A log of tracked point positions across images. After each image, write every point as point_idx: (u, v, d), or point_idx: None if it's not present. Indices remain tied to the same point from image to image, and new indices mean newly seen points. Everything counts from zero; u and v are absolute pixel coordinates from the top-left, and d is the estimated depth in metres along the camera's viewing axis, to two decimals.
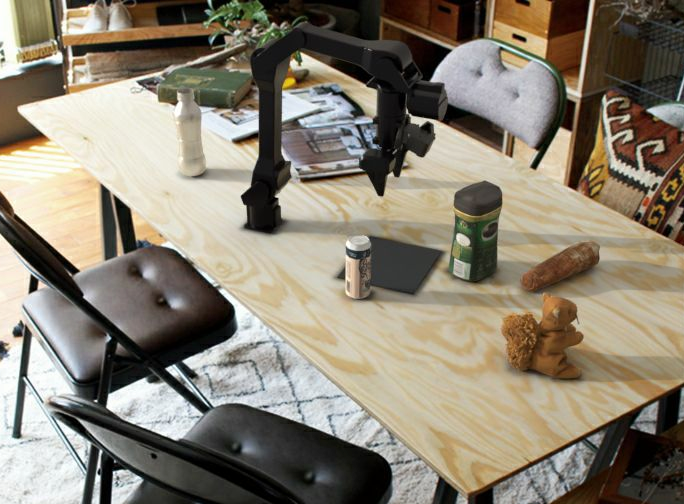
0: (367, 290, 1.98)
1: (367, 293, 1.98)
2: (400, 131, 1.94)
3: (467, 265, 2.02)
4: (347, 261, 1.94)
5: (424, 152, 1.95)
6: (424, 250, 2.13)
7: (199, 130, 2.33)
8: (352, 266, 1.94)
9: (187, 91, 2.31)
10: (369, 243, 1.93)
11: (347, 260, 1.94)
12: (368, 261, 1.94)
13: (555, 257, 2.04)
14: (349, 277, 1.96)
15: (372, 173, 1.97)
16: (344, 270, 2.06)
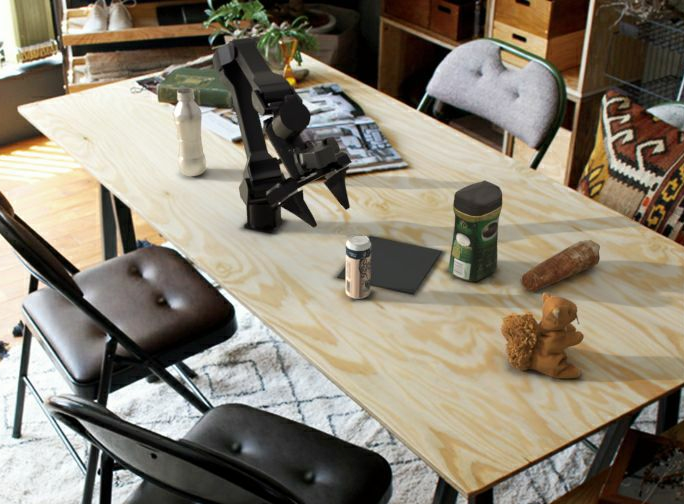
0: (367, 290, 1.98)
1: (367, 293, 1.98)
2: (295, 155, 1.91)
3: (467, 265, 2.02)
4: (347, 261, 1.94)
5: (320, 161, 1.88)
6: (424, 250, 2.13)
7: (199, 130, 2.33)
8: (352, 266, 1.94)
9: (187, 91, 2.31)
10: (369, 243, 1.93)
11: (347, 260, 1.94)
12: (368, 261, 1.94)
13: (555, 257, 2.04)
14: (349, 277, 1.96)
15: (291, 207, 1.93)
16: (344, 270, 2.06)
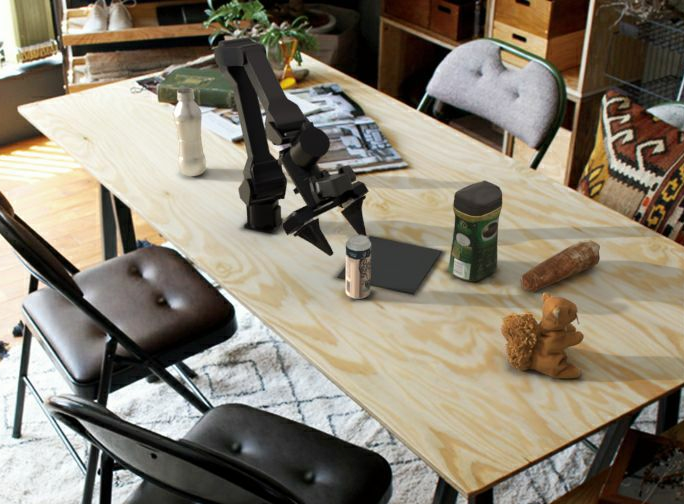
0: (367, 290, 1.98)
1: (367, 293, 1.98)
2: (311, 184, 1.91)
3: (467, 265, 2.02)
4: (347, 261, 1.94)
5: (336, 189, 1.88)
6: (424, 250, 2.13)
7: (199, 130, 2.33)
8: (352, 266, 1.94)
9: (187, 91, 2.31)
10: (369, 243, 1.93)
11: (347, 260, 1.94)
12: (368, 261, 1.94)
13: (555, 257, 2.04)
14: (349, 277, 1.96)
15: (307, 236, 1.92)
16: (344, 270, 2.06)
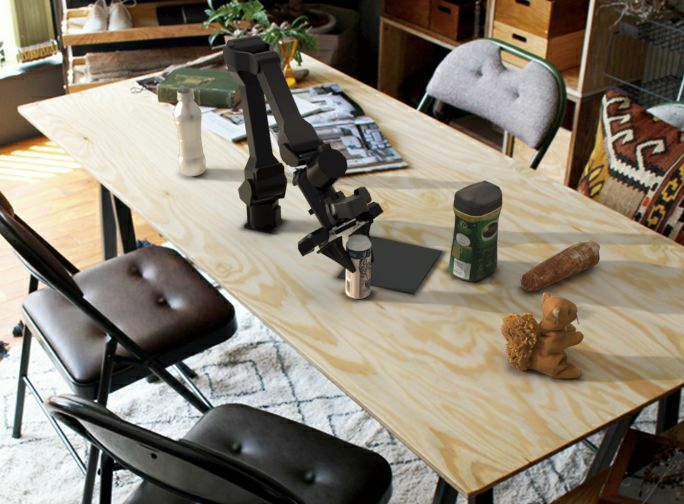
0: (367, 290, 1.98)
1: (367, 293, 1.98)
2: (326, 206, 1.91)
3: (467, 265, 2.02)
4: None
5: (352, 211, 1.87)
6: (424, 250, 2.13)
7: (199, 130, 2.33)
8: None
9: (187, 91, 2.31)
10: (369, 243, 1.93)
11: None
12: (368, 261, 1.94)
13: (555, 257, 2.04)
14: (349, 277, 1.96)
15: (330, 253, 1.93)
16: (344, 270, 2.06)
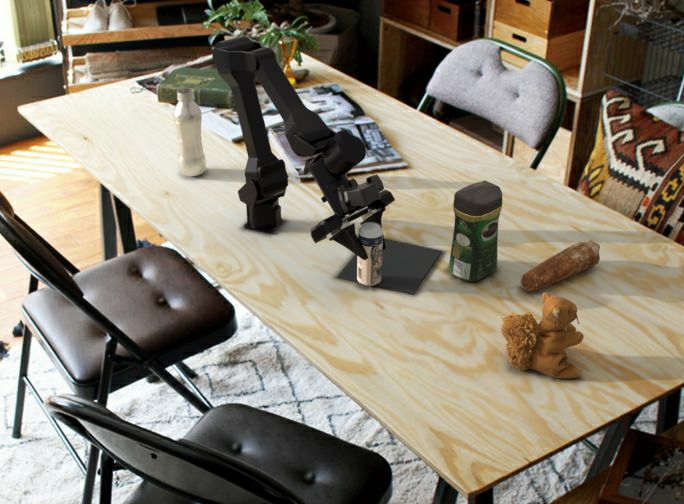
0: (378, 277, 2.01)
1: (378, 280, 2.01)
2: (339, 193, 1.94)
3: (467, 265, 2.02)
4: None
5: (364, 199, 1.90)
6: (424, 250, 2.13)
7: (199, 130, 2.33)
8: None
9: (187, 91, 2.31)
10: (381, 231, 1.96)
11: None
12: (380, 248, 1.97)
13: (555, 257, 2.04)
14: (361, 264, 1.99)
15: (343, 240, 1.96)
16: (344, 270, 2.06)
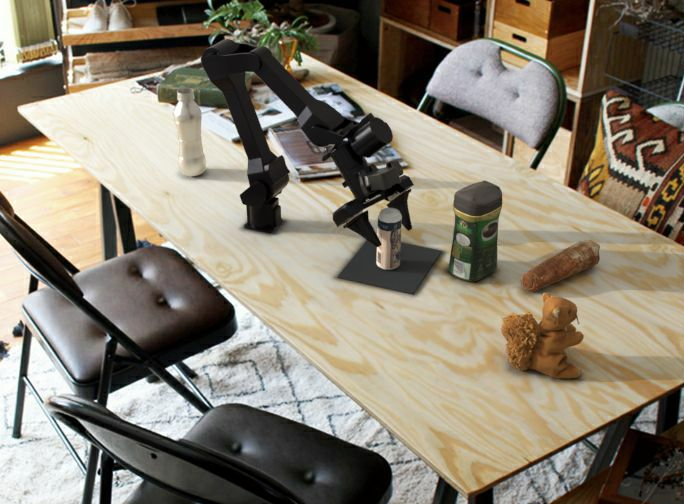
0: (397, 261, 2.06)
1: (397, 264, 2.06)
2: (360, 178, 1.99)
3: (467, 265, 2.02)
4: (379, 233, 2.03)
5: (385, 183, 1.95)
6: (424, 250, 2.13)
7: (199, 130, 2.33)
8: (383, 237, 2.02)
9: (187, 91, 2.31)
10: (400, 215, 2.01)
11: (379, 232, 2.02)
12: (399, 233, 2.02)
13: (555, 257, 2.04)
14: (380, 249, 2.04)
15: (356, 227, 2.00)
16: (344, 270, 2.06)
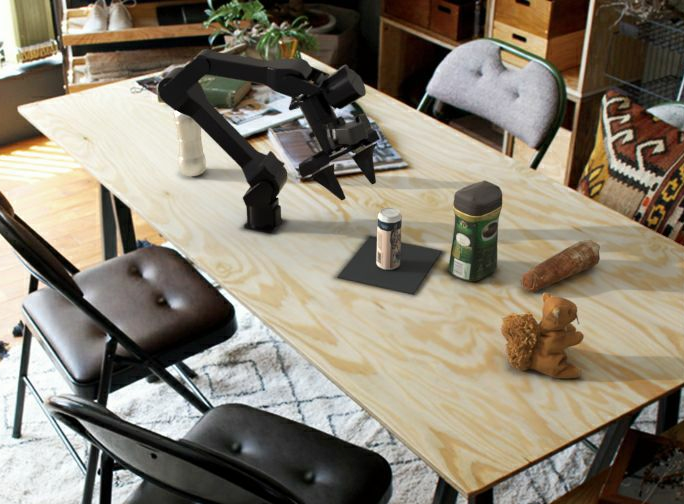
0: (397, 261, 2.06)
1: (397, 264, 2.06)
2: (328, 130, 2.00)
3: (467, 265, 2.02)
4: (379, 233, 2.03)
5: (352, 138, 1.97)
6: (424, 250, 2.13)
7: (199, 130, 2.33)
8: (383, 237, 2.02)
9: None
10: (400, 215, 2.01)
11: (379, 232, 2.02)
12: (399, 233, 2.02)
13: (555, 257, 2.03)
14: (380, 249, 2.04)
15: (322, 180, 2.02)
16: (344, 270, 2.06)
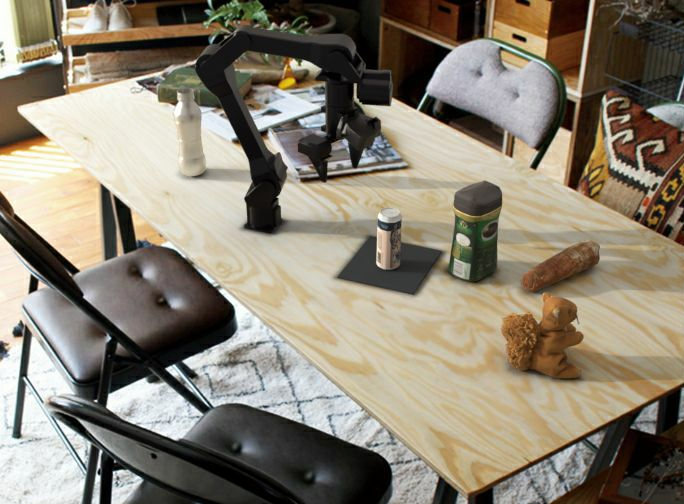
0: (397, 261, 2.06)
1: (397, 264, 2.06)
2: (341, 122, 2.01)
3: (467, 265, 2.02)
4: (379, 233, 2.03)
5: (360, 145, 2.01)
6: (424, 250, 2.13)
7: (199, 130, 2.33)
8: (383, 237, 2.02)
9: (187, 91, 2.31)
10: (400, 215, 2.01)
11: (379, 232, 2.02)
12: (399, 233, 2.02)
13: (555, 257, 2.03)
14: (380, 249, 2.04)
15: (313, 158, 2.06)
16: (344, 270, 2.06)
